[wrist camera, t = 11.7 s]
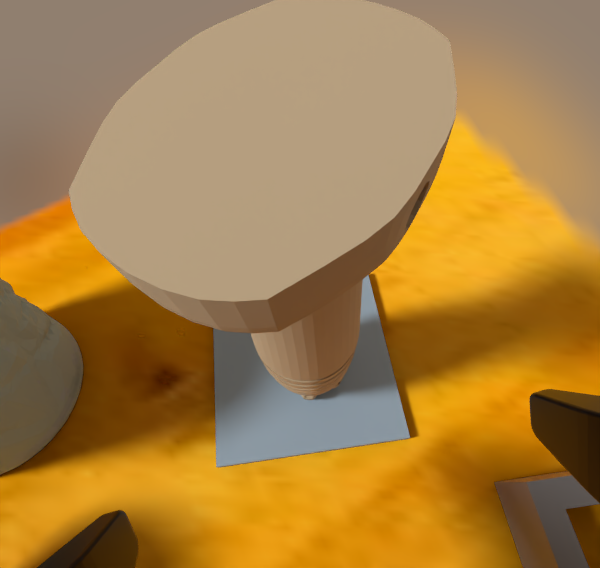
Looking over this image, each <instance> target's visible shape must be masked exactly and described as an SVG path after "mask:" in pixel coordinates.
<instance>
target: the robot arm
mask: <svg viewBox="0 0 600 568" xmlns="http://www.w3.org/2000/svg"><path fill="white" fill-rule="evenodd" d="M530 416H531V426H532V429H533V432H534V433H535V435H536V437H537V438H538V439H539V440H540V441H541V442H542V443H543V445H544V446H545V447H546V448H547V449H548V450H549V451H550V452H551V453H552V454H553V455H554V456H555V458H556V459H557V460H558V461H559V462H560V463H561V464H562V465H563V466H564V467H565V468H566V470H567V471H568V472H569V473H570V474H571V475H572V476H573V477H574V478H575V479H576V480H577V482H578V483H579V484H580V485H581V486H582V487H583V488H584V489H585V490H586V491H587V492H588V493H589V494H590V495H591V496H592V497H593V498H594V499H595V500H597V501H598V502H599V503H600V396H596V395H589V394H582V393H575V392H567V391H560V390H553V389H546V390H542V391H539V392H535V393H533V394H532V395H531V396H530ZM137 556H138V540H137V537H136V535H135V532H134V530H133V528H132V526H131V524H130V522H129V520H128V517H127V515H126V514H125V512H124V511H122V510H118V511H114V512H111V513H107V514H104V515H102V516H100V517H99V518H98V519H97V520H95V521H94V522H93V523H92V524H90V525H89V526H88V527H87V528H85V529H84V530H83V531H82V532H80V533H79V534H78V535H77V536H76V537H74V538H73V539H72V540H71V541H69V542H68V543H67V544H66V545H64V546H63V547H62V548H61V549H59V550H58V551H57V552H56V553H54V554H53V555H52V556H51V557H50V558H48V559H47V560H46V561H45V562H43V563H42V564H41V565H40V566H38V567H37V568H135V565H136V561H137Z"/></svg>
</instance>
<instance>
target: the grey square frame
mask: <svg viewBox="0 0 600 568" xmlns="http://www.w3.org/2000/svg"><path fill="white" fill-rule="evenodd" d="M494 483H495V486H496V489H497V492H498V495H499V498H500V501H501V504H502V506H503V509H504V512H505V515H506V518H507V521H508V524H509V527H510V530H511V533H512V536H513V539H514V542H515V545H516V548H517V551H518V554H519V556H520V559H521V562H522V565H523V568H589V565H588V563H587V561H586V558H585V556H584V553H583V551H582V548H581V546H580V543H579V541H578V539H577V536H576V534H575V531H574V529H573V526H572V524H571V521H570V519H569V517H568V514H567V512H566V509H570V508H576V507H583V506H589V505H596V504H600V503H599V502H598V501H597V500H595V499H594V498H593V497H592V496H591V495H590V494H589V493H588V492H587V491H586V490H585V489H584V488H583V487H582V486H581V485H580V484H579V483H578V482H577V480H576V479H575V478H574V477H573V476H572V475H571V474H570V473H569V472H568V471H563V472H557V473H550V474H544V475H537V476H530V477H524V478H517V479H511V480H504V481H498V482H494Z"/></svg>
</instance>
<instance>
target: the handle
mask: <svg viewBox="0 0 600 568" xmlns="http://www.w3.org/2000/svg"><path fill="white" fill-rule="evenodd" d="M456 102H457V90H456V81H455V72H454V65H453V59H452V53H451V46H450V41H449V40H448V39H447V38H446V37H445V36H443V35H442V34H441V33H440V32H439V31H438V30H436V29H435V28H433V27H431V26H430V25H428V24H427V23H426V22H424V21H422V20H421V19H419V18H416V17H414V16H412V15H409V14H407V13H405V12H402V11H400V10H397V9H394V8H391V7H387V6H384V5H380V4H377V3H374V2H368V1H364V0H274V1H272V2H269V3H267V4H264V5H262V6H259V7H257V8H254V9H252V10H249V11H247V12H245V13H242V14H240V15H237V16H235V17H233V18H230V19H228V20H225V21H223V22H221V23H218V24H217V25H214V26H212V27H211V28H209V29H207V30H205V31H203V32H201V33H199V34H197V35H195V36H194V37H192V38H191V39H190V40H188V41H187V42H185V43H184V44H183V45H181V46H180V47H178V48H177V49H176V50H174V51H173V52H172V53H171V54H170V55H169V56H167V57H166V58H165V59H164V60H162V61H161V62H160V63H159V64H158V65H156V67H154V68H153V69H152V70H150V71H149V72H148V73H147V74H146V75H144V77H142V78H141V79H140V80H139V81H137V82H136V83H135V84H134V85H133V86H132V87H131V88H130V89H129V90H128V91H127V92H126V93H125V94H124V95H123V96H122V97H121V98H120V99H119V100H118V101H117V102H116V104H115V105H114V107H113V108H112V110H111V111H110V112H109V114H108V115H107V117H106V118H105V120H104V121H103V123H102V125H101V127H100V129H99V130H98V132H97V134H96V136H95V138H94V140H93V142H92V144H91V146H90V148H89V150H88V152H87V154H86V156H85V158H84V160H83V162H82V164H81V166H80V168H79V170H78V172H77V174H76V176H75V178H74V180H73V183H72V184H71V187H70V189H69V196H70V201H71V206H72V210H73V213H74V215H75V217H76V220H77V222H78V225H79V227H80V229H81V231H82V232H83V234H84V235H85V236H86V237H87V238H88V239H89V241H90V242H91V243H92V244H93V245H94V246H95V247H96V249H97V250H98V251H99V252H100V253H101V254H102V255H103V256H104V257H105V258H106V259H107V260H108V261H109V262H110V263H111V264H112V265H113V266H114V267H115V268H116V269H117V270H118V271H119V272H120V273H121V274H122V275H123V276H124V277H125V278H127V279H128V280H129V281H130V282H131V283H132V284H133V285H134V286H136V287H137V288H138V289H139V290H141V291H142V292H143V293H145V294H146V295H147V296H149V297H150V298H151V299H153V300H154V301H155V302H157V303H158V304H160V305H161V306H162V307H164V308H166V309H168V310H170V311H172V312H174V313H176V314H178V315H180V316H182V317H184V318H186V319H188V320H190V321H192V322H194V323H198V324H201V325H205V326H208V327H211V328H215V329H218V330H222V331H225V332H240V333H251V336H252V339H253V342H254V345H255V348H256V350H257V352H258V355H259V356H260V359H261V360H262V362H263V364H264V366H265V367H266V369H267V370H268V372H269V373H270V374H271V375H272V376H273V377H274V378H275V380H276V381H277V382H278V383H279V384H281V385H282V386H283V387H285V388H286V389H288V390H290V391H291V392H293V393H296V394H299V395H301V396H302V397H303V399H306V400H314V399H315V397H316V396H317V395H320V394H323V393H325V392H327V391H329V390H331V389H332V388H333V389H334V388H336V387H338V386H339V384H340V383H341V381H342V380H343V377H344V375H345V373H346V372H347V370H348V368H349V366H350V363H351V361H352V359H353V356H354V353H355V349H356V346H357V342H358V338H359V331H360V315H361V297H362V282H363V279H364V278H365V277H366V276H367V275H369V274H370V273H371V272H372V271H374V270H375V269H376V268H377V267H378V266H380V265H381V264H382V263H383V262H384V261H385V260H386V259H387V258H388V257H389V255H390V254H391V253H392V252H393V250H394V249H395V248H396V246H397V245H398V244H399V242H400V241H401V239H402V238H403V236H404V235H405V233H406V232H407V230H408V228H409V227H410V225H411V223H412V221H413V220H414V218H415V216H416V214H417V212H418V210H419V208H420V207H421V205H422V203H423V201H424V199H425V197H426V195H427V193H428V191H429V189H430V187H431V185H432V183H433V180H434V178H435V176H436V173H437V171H438V168H439V166H440V163H441V160H442V158H443V154H444V151H445V148H446V145H447V142H448V139H449V136H450V133H451V130H452V126H453V123H454V120H455V116H456Z"/></svg>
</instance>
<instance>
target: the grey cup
mask: <svg viewBox="0 0 600 568" xmlns="http://www.w3.org/2000/svg"><path fill="white" fill-rule="evenodd" d="M82 378H83V360H82V355H81V352H80V348H79V346H78V344H77V342H76V340H75V339H74V337H73V336H72V334H71V333H70V332H69V331H68V330H67V329H66V328H65V327H64V326H63V325H62V324H60V323H59V322H58V321H56V320H55V319H53V318H52V317H50V316H49V315H47V314H46V313H45V312H44V311H42V310H41V309H39V308H38V307H37V306H35V305H33V304H31V303H29V302H28V301H27V300H26V299H25V298H22V297H20V296H18V295H15V293H14V291H13V288H12V286H11V285H10V284H9V283H7V282H6V281H4V280H2V279H1V278H0V475H1V474H3V473H5V472H8V471H10V470H12V469H14V468H16V467H18V466H20V465H21V464H23V463H25V462H26V461H28V460H29V459H30V458H32V457H33V456H34V455H36V454H37V453H38V452H40V451H41V450H42V449H43V448H44V447H45V446H46V445H47V444H48V443H49V442H50V441H51V440H52V439H53V438H54V436H55V435H56V434H57V433H58V432H59V430H60V429H61V428H62V427H63V425H64V424H65V423H66V421H67V419H68V417H69V415H70V413H71V411H72V410H73V408H74V405H75V403H76V401H77V399H78V395H79V392H80V389H81V384H82Z"/></svg>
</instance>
